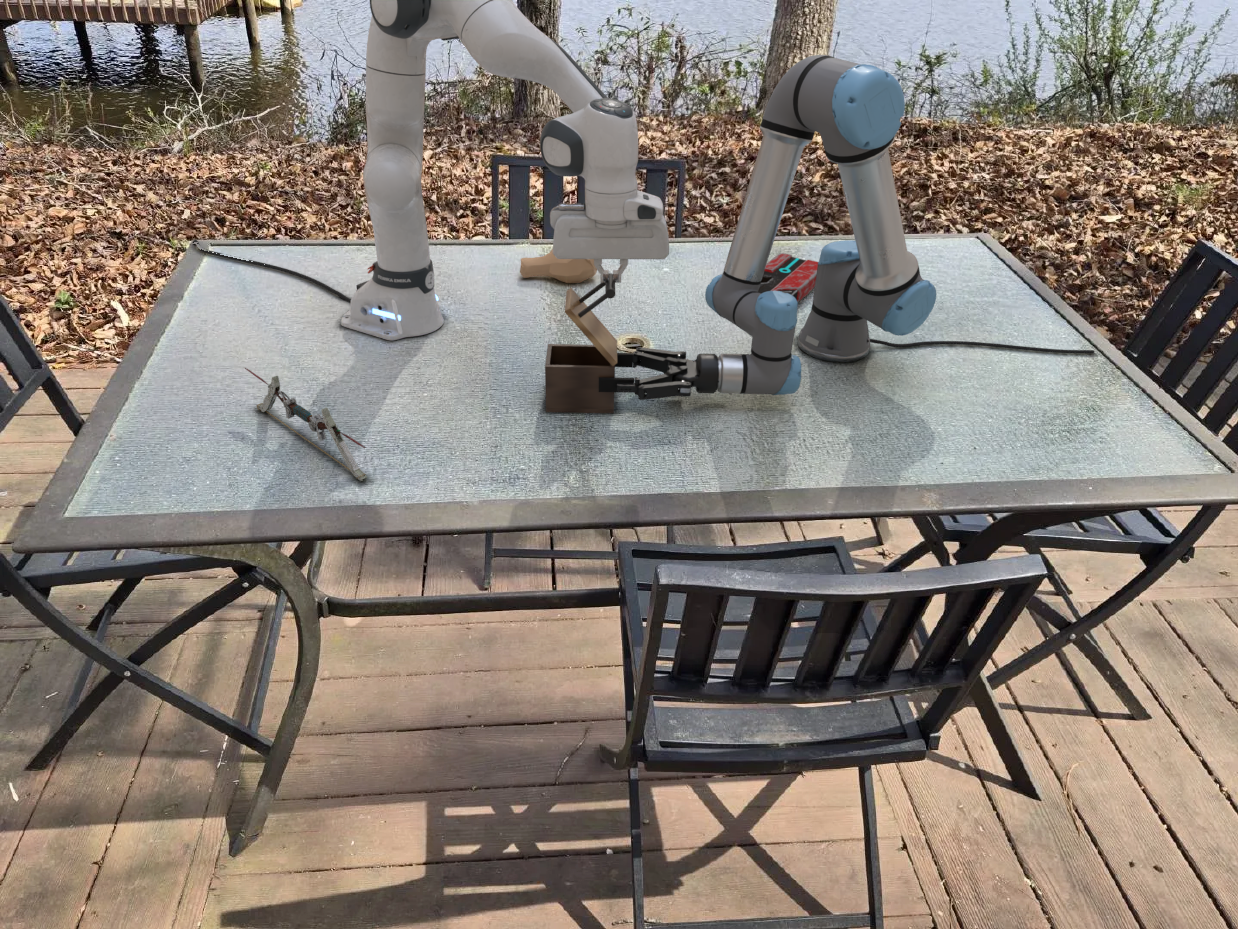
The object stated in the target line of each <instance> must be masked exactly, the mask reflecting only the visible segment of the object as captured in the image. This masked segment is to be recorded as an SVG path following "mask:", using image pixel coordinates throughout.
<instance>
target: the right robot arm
mask: <svg viewBox="0 0 1238 929" xmlns="http://www.w3.org/2000/svg"><path fill="white" fill-rule="evenodd" d="M905 108H906V101H905V95H904V91H903V88H902V86H901V84H900V81H898V79H897V78H896V77H895V76H894V75H892V74H891V73H890V72H888V71H886V70H883V69H881V68H879V67H877V66H875V65H873V64H865V63H857V62H855V61H850V60H846V59H842V58H837V57H834V56H831V55H827V54H813V55H809V56H807V57H805V58H802V59H801V60H799V61H797V62H796V63H795V64H794V65H793V66H791V67H790V68H789V69H788V70H787V71H786V72H785V73H784V74H783V76H782V77H781V78H780V80H779V81H778V83H777V84H776V86H775V87H774V89H773V91H772V93H771V95H770V97H769V99H768V102H767V103H766V106H765V109H764V111H763V112H764V113H763V115H762V119H761V122H760V126H759V129H760V131H761V133H762V139H761V141H760V142H761V143H760V144H759V149H758V153H757V155H756V159H755V162H754V166H753V169H752V173H751V176H750V178H749V182H748V186H747V189H746V192H745V196H744V199H743V203H742V206H741V210H740V214H739V217H738V220H737V222H736V228H735V230H734V234H733V237H732V240H731V244H730V247H729V250H728V253H727V258H726V261H725V264H724V268H723V272H722V273H721V274H718V275H716V276H714V277H713V278H712V279H711V281H710V282H709V284H707V286H706V289H705V291H704V292H705V294H704V296H705V298H704V299H705V302H706V304H707V306H708V307H709V309H711V310H712V311H713V312H714V313H716V314H717V315H718V316H719V317H721V318H722V319H725V320H727V321H728V322H730V323H731V324H733V325H734V326H736V327H737V328H739V329H740V330H742V331H743V332H745V333H746V334H748V335H749V336H751V345H750V353H719V355H717V354H716V353H698V354H697V355H696V359H695V360H693V359H688V358H687V351H685V350H684V351H682V350H681V351H679V350H678V351H677V350H676V351H673V350H665V349H657V348H650V347H643V346H637V347H636V349H635V350H633V352H617V364H615V368H633V369H636V367H641V368H645V369H649V370H652V371H656V372H660V373H662V374H658V375H654V376H649V377H646V378H640V379H639V377H638V376H635V377H616V376H615V377H599V392H614V393H626V394H627V393H628V394H629V393H630V394H634V395H635V396H637V399H638V400H639V401H645V400H654V399H663V398H672V397H691V395H692V388H695V391H696V393H697V394H707V395H709V394H711V395H714V394H715V393H716V392H718V393H719V394H727V395H734V394H739V395H771V396H781V395H783V396H784V395H792V394H795V393H796V392H798V391H799V388H800V386H801V382H802V361H801V359H800V357H799V356H798V355H797V354H793V352H792V350H793V345H794V340H795V333H796V327H797V323H798V306H799V302H798V303H797V300H796V299H795V297H794V296H792V295H791V294H788V293H783V292H781V291H767V292H764V293H762V294H761V293H759V292H758V290H759V287H760V284H761V280H762V277H763V273H764V270H765V267H766V264H767V263H768V262H769V258H770V255H771V251H772V248H773V245H774V243H775V239H776V236H777V232H778V230H779V226H780V224H781V220H782V216H783V214H784V211H785V208H786V205H787V202H788V198H789V195H790V192H791V190H792V186H793V183H794V180H795V176H796V174H797V171H798V167H799V165H800V161H801V158H802V155H803V151H804V149H805V147H806V146H807V145H810V144H811V143H812V142H813V139H814V136H815V132H816V133H819V135H820V138H821V142H822V145H823V149H824V154H825V157H826V159H827V160H828V161H829V162H831V163H833V164H835V165H837V169H838V173H839V176H840V180H841V181H840V182H841V185H842V189H843V194H844V197H845V203H846V207H847V210H848V216H849V219H850V224H851V228H852V232H853V236H854V240H851V239H848V240H847V239H845V240H837V241H832V242H829V243H827V244H826V245H824V246H823V247H822V248H821V251H820V255H819V260H818V261H817V262H818V267H817V275H816V282H815V287H814V288H813V296H812V304H811V310H810V312H809V314H808V317H807V318H806V321H805V323H804V325H803V327H801V329H800V331H799V333H798V339H797V346H798V348H799V349H800V350H801V351H802V352H804V354H807V355H808V356H810V357H813V358H815V359H818V360H822V361H827V362H831V363H832V362H834V363H851V362H855V361H856V362H857V361H860V360H862V359H864V358H865V357H867V356H868V354H869V352H870V347H871V343H872V344H878V345H882V346H887V347H890V348H891V347H892V348H910V347H911V348H913V347H918V346H933V345H934V346H935V345H936V346H937V345H955V346H957V345H960V346H977V347H990V348H1001V349H1010V350H1011V349H1012V350H1021V351H1029V352H1030V351H1032V352H1042V353H1055V354H1080V355H1081V354H1082V355H1083V354H1090V355H1093V354H1095V350H1094V349H1060V348H1058V349H1057V348H1046V347H1045V348H1044V347H1035V346H1022V345H1014V344H1005V343H1004V344H1003V343H994V342H983V341H981V342H980V341H964V340H931V341H930V340H927V341H918V342H909V343H892V342H888V341H884V340H880V339H874V338H870V332H869V326H868V325H869V324H868V322H869V323H871V324H873V325H874V326H876V327H877V328H879V329H880V330H882V331H883V332H886V333H890V334H891V335H892V334H893V335H894V336H900V337H901V336H902V337H903V336H906V335H910V334H911V333H913V332H914V331H917V329H919V328H920V327H921V326H922V325H923V324H924V323H925V322H926V320H928V318H929V316H930V314H931V312H932V311H933V310H934V307H935V304H936V302H937V301H936V300H937V289H936V287H935V285H934V284H933V283H932V282H931V281H930V280H928V279H924V278H922V276H921V270H920V267H919V266H920V265H919V261H918V258H917V256H916V255H915V254H914V253H913V252H910V251H908V248H907V243H906V242H907V241H906V237H905V231H904V226H903V220H902V215H901V210H900V206H899V199H898V194H897V190H896V189H897V188H896V183H895V179H894V172H893V168H892V163H891V156H890V152H889V149H890V148H891V146H892V145H893V144H894V141H895V139H896V135H897V133H898V131H899V129H900V127H901V125H902V122H901V118H902V117H904V115H905Z"/></svg>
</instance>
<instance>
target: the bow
mask: <svg viewBox="0 0 1238 929" xmlns="http://www.w3.org/2000/svg"><path fill="white" fill-rule="evenodd" d="M244 369H245V371H247V372H249V373H250V374H252V375H253V376H254V377H255V378H257V379H258V380H260V381H261V382H262V383H264V384H266V385H267V394H266V395H265V397H263V401H262V402H261V403H259V404H256V408H257V410H258V411H260V412H261V413H267V414H268V415H269V416H271V417H272V418H274V419H275V420H277V422H280V423H281V424H283V425H284V426H285V427H287V428H288V429H290V430H291V431H293V432H294V433H295V434H296V435H298V436H299V437H301V438H303V439H304V440H305V441H307V442H308V443H310V444H311V445H312V446H314V447H315V448H317V449H318V450H320V451H321V452H322V453H324V454H325V455H327V456H328V457H329V458H330V459H332V460H334V461H335V462H336V463H338V464H339V465H341V466H343V467H344V468H345V469H346V470H348V471H349V472H351V473H352V475H353V476H354V477H355V478H356V480H358V481H360V482H363V481H364V479H368V476H367V475H366V473H365V472H363V470H362V469H361V468H360V467H359V466H358V464H357V462H356V460H355V458H354V455H353V454H352V452H351V450H350V449H349V447H348V445H347V444H346V442H345V439H344V438H343V437H345V438H346V439H349V440H350V441H351V442H353V443H355V444H356V445H357V446H359V447H362V448H363V449H366V446H365V445H363V443H361V442H360V441H358V440H356V439H354V438H353V437H351V436H349V435H348V434H345V433H343V432H341V429H340V428H339V427H338V425H337V423H336V422H335V420H334V418H333V416H332V415H331V412H330V410H329V408H328V407H324V408H321V409H320V410H321V414H320V413H318V414H316V415H312V413H311V412H310V411H309V410H308V409H306V408H304V407H303V406H302V405H299V404H298V403H297V399H296V397H291V398H290V397H289V396H288V394H287V393H285V392H284V391H283V390H281V384H280V383H281V382H280V377H279V375H274V376H271V381H270V383H268V382H267V381H265V380H264V379H263V378H262V377H260V376H259V375H258V374H256V373H254V372H253V371H252V370H251V369H248V368H247V367H244ZM277 398H278V399H279V401H280V402H281V403H282V404H283V408H284V409H285V418H286V419H287V420H290V419H292V418H295V416H296V417H297V418H299V419H301V420H303V421H304V422H305V423H308V427H309V429H310V430H311V431H312V432H313V433H316V435H317V436H316V437H317V439H318V441H320V442H322V441H325V440H327V435H326V432H325V430H328V432H329V434H330V436H331V437H332V440H333V442H334V444H335V445H336V448H337V450H338V451H339V453H340V455H341V457H342V458H343V461H344V462H345V464H346V465H344V464H343V463H342V462H341V461H340V460H338V459H337V458H335V457H334V456H332V455H330V454H329V453H328V452H326V451H325V450H323V449H322V448H321V447H319V446H317V445H316V444H314V443H313V442H311V441H310V440H309V439H307V438H306V437H305V436H303V435H302V434H301V433H299V432H297V431H296V430H294V429H293V428H292V427H290V426H289V425H288V424H286V423H285V422H283V420H280V419H278V418H277V417H276V416H275V415H273V414H272V413H270V412H269V411H270V410H271V409H272V408H273V406H274V404H275V402H276V400H277Z"/></svg>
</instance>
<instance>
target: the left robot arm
mask: <svg viewBox="0 0 1238 929" xmlns="http://www.w3.org/2000/svg"><path fill="white" fill-rule="evenodd" d="M369 9H370V13H371V18H370V22H369V27H368V28H369V29H368V34H367V40H366V42H367V43H366V55H365V56H366V57H365V113H366V114H365V115H366V117H365V118H366V131H367V132H366V133H367V134H366V136H367V139H366V141H367V152H366V153H367V154H366V162H365V165H364V168H363V170H362V171H363V172H362V181H363V187H364V194H365V199H366V203H367V209H368V213H369V218H370V221H371V224H372V231H373V238H374V245H375V246H374V247H375V253H376V254H375V255H376V261H374V262H373V263H372V265H371V266H369V267H368V268H367V274H370V273H372V277H371V278H370V279H369V280H365V281H362V282H360V283H358V284H356V285H355V287H356V289H355V292H354V293H353V294H352V296H351V298H350V297H348V296H347V295H345V294H343V293H342V292H340V291H338V290H337V289H334V288H333V287H331V286H330V285H327V284H326V283H324V282H322V281H320V280H318V279H315V278H313V277H311V276H308V275H306V274H304V273H300V272H298V271H294V270H291V269H289V268H285V267H281V266H277V265H274V264H269V263H265V262H261V261H256V260H252V259H248V260H249V261H246V260H241V259H237V258H233V257H228V256H224V255H220V254H223V253H222V252H217V251H213V250H210V249H208V250H209V252H208V251H204V250H202V249H201V250H199V251H200V252H202V253H204V254H207V255H212V256H215V257H219V258H223V259H227V260H232V261H235V262H241V263H245V264H250V265H254V266H258V267H263V268H266V269H271V270H275V271H278V272H281V273H285V274H289V275H292V276H295V277H298V278H300V279H303V280H306V281H308V282H310V283H313V284H314V285H317V286H319V287H321V288H323V289H325V290H327V291H328V292H330V293H331V294H333V295H334V296H337V297H339V298H340V299H342V300H343V301H345V302H348V303H350V305H349V310H347V311H346V313H344V314H343V316H342V317H341V320H340V324H341V326H342V327H344V328H347V329H350V330H354V331H357V332H360V333H364V334H367V335H370V336H373V337H377V338H380V339H383V340H387V341H396V340H397V341H398V340H401V339H404V338H412V337H420V336H423V335H427V334H430V333H431V334H432V333H434V332H436V331H437V330H439V329H441V327H442V326H443V325H444V323H445V320H444V317H443V314H442V312H441V310H440V307H439V303H438V301H439V297H438V295H437V294H436V291H435V271H434V264H433V260H432V259H431V253H430V243H429V232H428V223H427V218H426V212H425V206H424V197H423V189H422V188H423V187H422V174H423V172H422V171H423V159H424V158H423V156H424V131H425V130H424V128H425V126H424V125H425V98H426V78H427V77H426V76H427V75H426V74H427V49H428V46H429V45H430V43H431V42H432V41H434V40H441V41H450V40H458V39H459V41H460V42H461V43H462V45H463V46H464V47H465V49H466V50H467V52H468V54H469V55H470V56H471V58H472V59H473V60H474V61H475V62H476V63H477V64H478V65H479V66H480V67H481V68H483V70H485V71H486V72H488V73H489V74H491V75H494V76H497V77H501V78H508V79H516V80H517V79H518V80H523V81H529V82H533V83H537V84H540V85H542V86H545V87H546V88H549V89H550V90H552V91H553V92H554V93H555V94H556V95H557V96H558V98H560V99H561V100H562V102H563V103H564V104H565V105H566V106H567V107H568V108H569V110H570V111H571V112H572V113H568V114H565V115H562V116H558V117H554V118H553V119H551V120H548V121H547V122H546V123H545V124H544V126H543V128H542V131H541V134H540V138H539V150H540V154H541V155H540V156H541V158H542V161H543V163H544V164H545V166H546V168H548V170H549V171H550V172H552V173H553V174H554V175H556V176H559V177H582V178H583V179H584V202H583V203H582V202H581V203H563V202H561V203H559V204H558V205H557V206H556V205H555V206H554V207H553V208H551V210H550V212H549V223H550V226H551V228H552V229H553V230H554V231H553V239H552V249H553V254H554V255H555V257H556V258H557V259H594V265H595V267H596V269H597V273H598V274H599V277H600V278H599V279H600V280H599V282H600V283H608V282H609V272H610V271H609V269H604V267H603V260H619V267H618V269H613V270H612V274H613V283H615V284H616V283H617V284H620V283H622V275H623V273H624V272H625V270H626V269H627V267H628V264H629V260H665V259H667V258H668V256H669V255H670V238H669V229H668V224H667V220H666V218H665V216H664V204H663V201H662V199H661V198H660V197H659V196H657V195H654V194H651V193H648V192H644V191H642V190H639V189H638V188H639V185H638V178H637V174H636V171H637V165H638V162H639V129H638V128H639V127H638V122H637V118H636V113H635V111H634V109H633V108H632V106H630V105H629V104H627V103H626V102H625V101H622V100H619V99H617V98H610V97H608V96H607V95H606V94H605V93H604V92H603V91H602V90H601V88H599V86H598V85H597V84H596V83H595V82H594V81H593V80H592V79H591V78H590V77H589V75H588V74H587V73H586V72H585V71H584V70H583V68H582V67H581V66H580V65H579V64H578V63H577V62H576V61H575V60H574V58H573V57H572V56H571V55H570V54H569V53H568V52H567V51H566V50H565V49H564V48H563V47H562V46H561V45H560V44H559V43H557V42H556V41H555V40H553V39H552V38H551V37H549V36H548V35H546V34H545V33H543V31H541V30H540V29H539V28H538V27H537V26H535V25H534V24H533V23H532V22H531V20H529V19H528V17H526V16H525V15H524V14H523V12H522V11H521V10H520V9H519V8H518V6H517V5H516V4H515V2H514V1H513V0H369ZM194 242H198V243H197V244H199V245H200V242H199V241H198V240H197V239H193V240H192V243H194ZM192 245H193V246H196V245H195V244H192ZM212 252H214V253H212ZM216 253H217V254H216ZM251 261H253V262H251ZM264 264H265V265H264ZM600 283H599V284H600Z"/></svg>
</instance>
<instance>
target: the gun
mask: <svg viewBox="0 0 1238 929" xmlns="http://www.w3.org/2000/svg"><path fill="white" fill-rule="evenodd" d="M818 262H819V261H816V260H812V259H802V258H799V257H795V256H793V255H792V254H791V253H784V252H780V253H778V254H777V255H775V256H774V257H773V258H771V259H770V260H768V261H767V264H766V267H765V270H764V273H763V277H762V280H761V284H760V287H759V290H758V292H759V293H761V294H762V293H764V292H767V291H781V292H783V293H788V294H791V295H792V296H794V297H795V299H796V300H797V303H798V304H799V302H801V301H802V300H803V299H804V298H805V297H807V296H808V295H809V294H810V293H811V292H812V291H813V290H814V289H815V282H816V275H817V267H818Z"/></svg>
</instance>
